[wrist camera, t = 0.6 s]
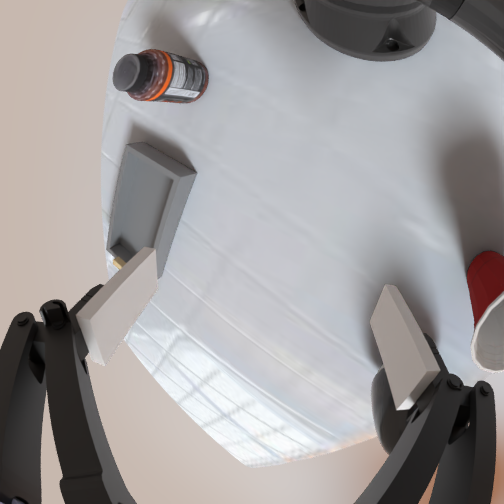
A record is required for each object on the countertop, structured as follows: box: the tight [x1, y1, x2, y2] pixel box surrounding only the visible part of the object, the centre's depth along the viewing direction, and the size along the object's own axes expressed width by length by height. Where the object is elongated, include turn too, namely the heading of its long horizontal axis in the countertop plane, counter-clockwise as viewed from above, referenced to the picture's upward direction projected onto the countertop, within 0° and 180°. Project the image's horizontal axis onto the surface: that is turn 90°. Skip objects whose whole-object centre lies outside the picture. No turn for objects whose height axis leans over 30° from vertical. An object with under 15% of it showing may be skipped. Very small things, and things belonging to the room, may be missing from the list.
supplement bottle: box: [113, 49, 209, 103], centre depth 24 cm, size 6×6×11 cm
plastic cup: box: [467, 251, 504, 373], centre depth 18 cm, size 11×11×12 cm
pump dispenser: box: [371, 365, 418, 455], centre depth 25 cm, size 10×10×15 cm
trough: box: [106, 142, 197, 279], centre depth 37 cm, size 19×10×5 cm, turn 153°
